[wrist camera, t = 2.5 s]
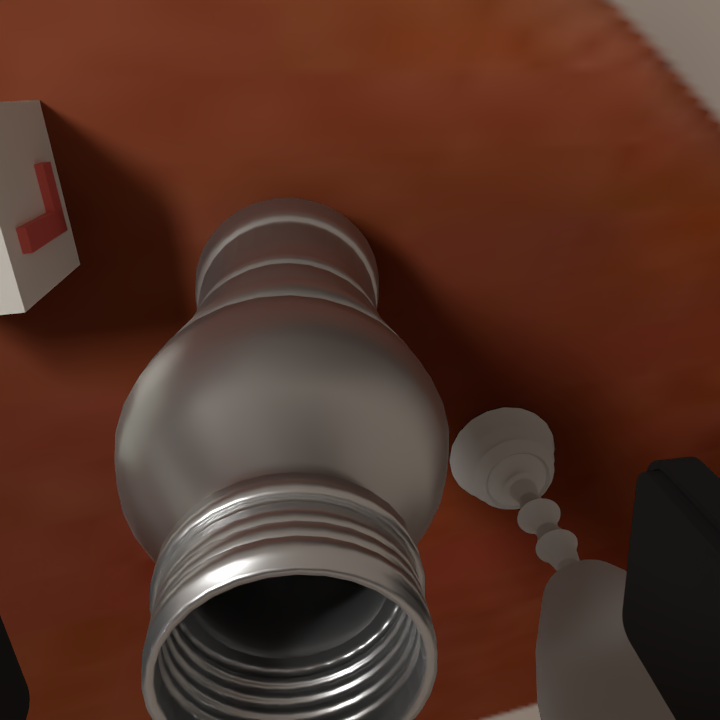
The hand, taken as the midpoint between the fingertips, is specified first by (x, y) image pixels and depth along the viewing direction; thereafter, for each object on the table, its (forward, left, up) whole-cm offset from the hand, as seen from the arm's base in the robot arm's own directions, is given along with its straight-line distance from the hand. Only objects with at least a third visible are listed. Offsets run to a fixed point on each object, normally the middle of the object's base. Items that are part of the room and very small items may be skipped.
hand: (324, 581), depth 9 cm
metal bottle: (0, 0, -19) cm, 19 cm away
